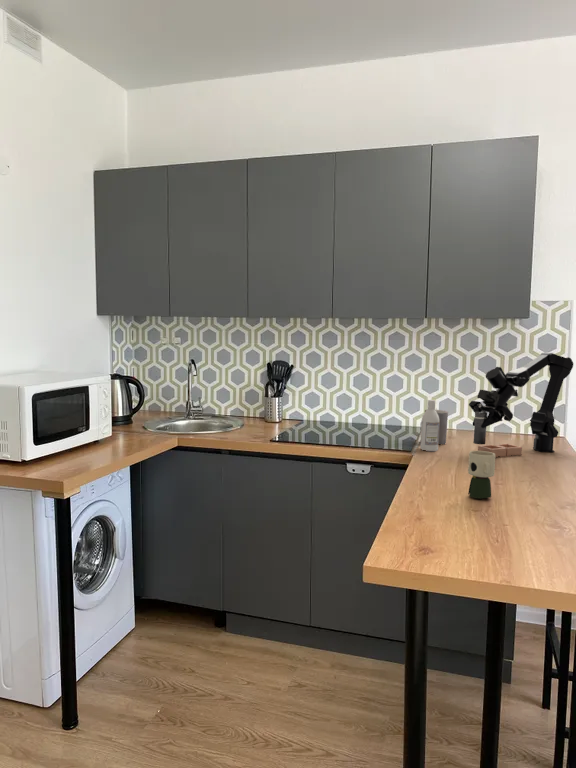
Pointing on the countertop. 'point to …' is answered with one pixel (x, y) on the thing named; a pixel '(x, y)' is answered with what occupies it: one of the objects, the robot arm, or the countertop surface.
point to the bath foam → (430, 428)
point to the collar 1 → (493, 449)
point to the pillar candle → (442, 425)
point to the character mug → (481, 473)
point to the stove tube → (479, 428)
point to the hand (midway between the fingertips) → (477, 426)
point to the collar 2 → (511, 449)
